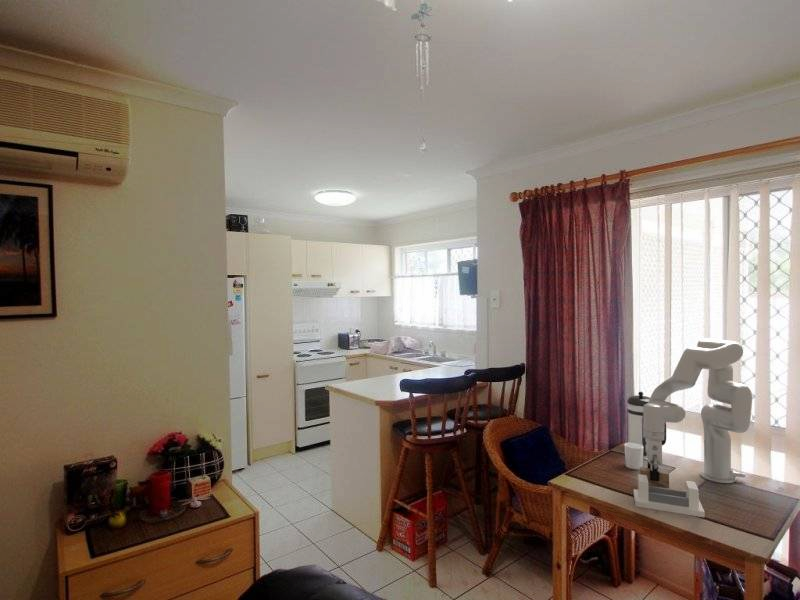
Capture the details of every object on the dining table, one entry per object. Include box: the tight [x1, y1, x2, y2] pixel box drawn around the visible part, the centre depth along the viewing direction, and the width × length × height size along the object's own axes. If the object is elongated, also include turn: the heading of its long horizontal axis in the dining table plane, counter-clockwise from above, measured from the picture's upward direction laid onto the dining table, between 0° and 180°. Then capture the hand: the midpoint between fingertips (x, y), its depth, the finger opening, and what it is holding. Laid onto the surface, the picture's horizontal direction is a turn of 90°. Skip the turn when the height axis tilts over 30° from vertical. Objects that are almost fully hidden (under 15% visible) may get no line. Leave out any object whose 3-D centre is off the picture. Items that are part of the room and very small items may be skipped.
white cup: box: [623, 442, 644, 471], centre depth 206 cm, size 8×8×10 cm
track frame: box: [633, 473, 706, 518], centre depth 169 cm, size 22×11×9 cm, turn 66°
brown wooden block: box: [639, 466, 670, 489], centre depth 182 cm, size 10×4×8 cm, turn 66°
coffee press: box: [626, 391, 667, 456], centre depth 225 cm, size 17×16×30 cm
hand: (653, 476), depth 182 cm, fingers open, 9 cm apart
